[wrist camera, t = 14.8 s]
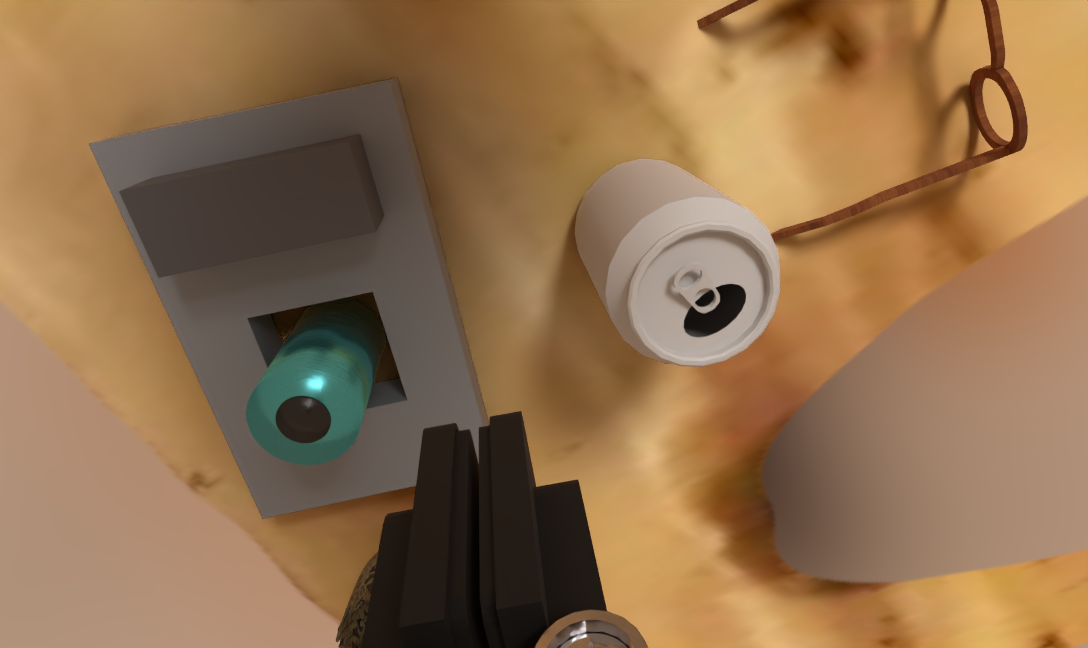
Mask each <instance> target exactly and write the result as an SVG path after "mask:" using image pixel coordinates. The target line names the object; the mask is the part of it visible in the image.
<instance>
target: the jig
mask: <svg viewBox="0 0 1088 648" xmlns="http://www.w3.org/2000/svg"><path fill="white" fill-rule="evenodd" d="M89 146H90V148H91V150H92V152H93V154H94V156H95V158H96V161H97V163H98V165H99V167H100V169H101V171H102V174H103V176H104V178H105V180H106V182H107V184H108V187H109V189H110V191H111V193H112V195H113V197H114V199H115V202H116V204H117V206H118V208H119V210H120V212H121V215H122V217H123V219H124V221H125V223H126V225H127V228H128V230H129V232H130V234H131V236H132V238H133V240H134V243H135V245H136V247H137V249H138V251H139V253H140V256H141V258H142V260H143V262H144V264H145V266H146V268H147V271H148V273H149V275H150V277H151V279H152V281H153V284H154V286H155V288H156V290H157V292H158V294H159V297H160V299H161V301H162V303H163V305H164V307H165V309H166V312H167V314H168V316H169V318H170V320H171V322H172V325H173V327H174V329H175V331H176V333H177V335H178V337H179V340H180V342H181V344H182V346H183V348H184V350H185V353H186V355H187V357H188V359H189V361H190V363H191V366H192V368H193V370H194V372H195V374H196V376H197V378H198V381H199V383H200V385H201V387H202V389H203V391H204V394H205V396H206V398H207V400H208V402H209V404H210V406H211V409H212V411H213V413H214V415H215V417H216V419H217V422H218V424H219V426H220V428H221V430H222V432H223V435H224V437H225V439H226V441H227V443H228V445H229V447H230V450H231V452H232V454H233V456H234V458H235V460H236V463H237V465H238V467H239V469H240V471H241V473H242V475H243V478H244V480H245V482H246V484H247V486H248V488H249V491H250V493H251V495H252V497H253V499H254V501H255V504H256V506H257V508H258V510H259V512H260V514H261V516H262V519H264V518H269V517H273V516H278V515H283V514H287V513H292V512H297V511H301V510H306V509H311V508H315V507H320V506H324V505H329V504H334V503H338V502H343V501H348V500H352V499H357V498H361V497H366V496H371V495H375V494H380V493H385V492H389V491H394V490H399V489H403V488H408V487H412V486H416V482H417V474H418V466H419V458H420V450H421V442H422V434H423V429H425V428H429V427H435V426H440V425H446V424H452V423H456V424H457V426H458V428H459V431H461V430H466V429H470V431H471V434H472V438H473V443H474V447H475V451H476V455H477V459H478V463H479V427H483V426H489V422H488V418H487V414H486V410H485V407H484V403H483V399H482V395H481V392H480V388H479V384H478V380H477V376H476V373H475V369H474V365H473V361H472V358H471V354H470V350H469V346H468V342H467V339H466V335H465V331H464V327H463V324H462V320H461V316H460V312H459V308H458V305H457V301H456V297H455V293H454V290H453V286H452V282H451V278H450V274H449V271H448V267H447V263H446V259H445V256H444V252H443V248H442V244H441V240H440V237H439V233H438V229H437V225H436V222H435V218H434V214H433V210H432V206H431V203H430V199H429V195H428V191H427V188H426V184H425V180H424V176H423V172H422V169H421V165H420V161H419V157H418V154H417V150H416V146H415V142H414V138H413V135H412V131H411V127H410V123H409V120H408V116H407V112H406V108H405V104H404V101H403V97H402V93H401V89H400V86H399V82H398V78H393V79H388V80H383V81H378V82H374V83H369V84H364V85H359V86H354V87H350V88H345V89H340V90H335V91H331V92H326V93H321V94H316V95H311V96H307V97H302V98H297V99H292V100H288V101H283V102H278V103H273V104H268V105H264V106H259V107H254V108H249V109H245V110H240V111H235V112H230V113H225V114H221V115H216V116H211V117H206V118H202V119H197V120H192V121H187V122H182V123H178V124H173V125H168V126H163V127H159V128H154V129H149V130H144V131H139V132H135V133H130V134H125V135H121V136H117V137H113V138H109V139H105V140H101V141H97V142H94V143H90V144H89ZM369 292H373V294H374V297H375V300H376V303H377V306H378V310H379V313H380V316H381V319H382V322H383V325H384V328H385V332H386V335H387V338H388V341H389V344H390V347H391V350H392V353H393V357H394V360H395V363H396V366H397V369H398V372H399V375H400V378H397V379H392V380H388V381H383V382H378V383H374V384H373V388H372V391H371V394H370V398H369V401H368V404H367V407H366V411H365V414H364V417H363V421H362V424H361V427H360V431H359V433H358V436H357V438H356V440H355V442H354V444H353V445H352V446H351V447H350V449H349V450H347V451H346V452H345V453H344V454H343V455H341V456H340V457H338V458H336V459H334V460H332V461H329V462H326V463H322V464H316V465H299V464H293V463H290V462H286V461H283V460H281V459H279V458H277V457H275V456H273V455H271V454H270V453H268V452H267V451H266V450H264V449H263V448H262V447H261V446H260V445H259V444H258V443H257V442H256V440H255V439H254V437H253V436H252V434H251V432H250V430H249V427H248V424H247V419H246V408H247V403H248V400H249V398H250V395H251V393H252V392H253V390H254V389H255V387H256V386H257V384H258V383H259V381H260V379H261V378H262V376H263V375H264V373H265V372H266V370H267V369H268V367H269V366H270V364H271V362H272V361H273V359H274V358H275V356H276V355H277V353H278V352H279V350H280V348H281V347H282V345H283V344H282V341H281V338H280V336H279V333H278V331H277V328H276V326H275V323H274V321H273V318H272V316H271V313H275V312H280V311H284V310H289V309H294V308H298V307H303V306H308V305H313V304H317V303H322V302H327V301H331V300H336V299H341V298H345V297H350V296H355V295H360V294H364V293H369Z"/></svg>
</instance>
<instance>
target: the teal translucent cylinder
mask: <svg viewBox="0 0 1088 648" xmlns="http://www.w3.org/2000/svg"><path fill="white" fill-rule="evenodd" d="M385 341H386V337H385V331H384V327H383V325H382V323H381V321H380V319H379V318H378V316H377V315H376V314H375V313H374V312H373V311H372V310H371V309H370V308H369V307H368V306H366V305H364V304H363V303H361V302H359V301H357V300H354V299H350V298H346V297H345V298H341V299H336V300H331V301H327V302H322V303H317V304H313V305H311V306H310V307H308V308H307V309H306V310H305V312H304V313H303V314H302V316H301V317H300V319H299V320H298V322H297V324H296V325H295V327H294V328H293V330H292V331H291V333H290V334H289V336H288V338H287V339H286V341H285V342H284V344H283V345H282V347H281V348H280V350H279V352H278V353H277V355H276V356H275V358H274V359H273V361H272V362H271V364H270V366H269V367H268V369H267V370H266V372H265V373H264V375H263V376H262V378H261V379H260V381H259V383H258V384H257V386H256V387H255V389H254V390H253V392H252V393H251V395H250V398H249V400H248V403H247V408H246V419H247V424H248V427H249V430H250V432H251V434H252V436H253V437H254V439H255V440H256V442H257V443H258V444H259V445H260V446H261V447H262V448H263V449H264V450H266V451H267V452H268V453H270V454H271V455H273V456H275V457H277V458H279V459H281V460H283V461H286V462H290V463H293V464H299V465H316V464H322V463H326V462H329V461H332V460H334V459H336V458H338V457H340V456H341V455H343V454H344V453H345V452H346V451H347V450H349V449H350V447H351V446H352V445H353V444H354V442H355V440H356V438H357V436H358V433H359V431H360V427H361V424H362V421H363V417H364V414H365V411H366V407H367V404H368V401H369V398H370V394H371V391H372V388H373V384H374V381H375V378H376V375H377V371H378V368H379V365H380V361H381V358H382V355H383V351H384V348H385Z"/></svg>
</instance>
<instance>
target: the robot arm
mask: <svg viewBox="0 0 1088 648" xmlns="http://www.w3.org/2000/svg"><path fill="white" fill-rule="evenodd" d="M361 648H648V646H647V644H646V642H645V640H644V639H643V637H642V636H641V634H640V633H639V631H638V630H637V628H636V627H635V626H634V625H632V624H631V623H630V622H628V621H627V620H626V619H625V618H623V617H621V616H619V615H616V614H613V613H611V612H608V611H607V609H606V604H605V600H604V595H603V591H602V586H601V581H600V577H599V572H598V568H597V563H596V559H595V554H594V549H593V545H592V540H591V536H590V531H589V526H588V522H587V517H586V513H585V508H584V503H583V499H582V494H581V490H580V485H579V481H578V480H573V481H567V482H562V483H556V484H551V485H545V486H540V487H536V483H535V478H534V473H533V468H532V463H531V458H530V453H529V447H528V442H527V437H526V432H525V427H524V422H523V417H522V413H521V411H519V412H514V413H508V414H502V415H497V416H491V417H490V425H489V426H483V427H479V463H478V459H477V455H476V451H475V447H474V443H473V438H472V434H471V431H470V429H466V430H461V431H459V428H458V426H457V424H456V423H452V424H446V425H440V426H435V427H429V428H425V429H423V434H422V442H421V450H420V458H419V466H418V474H417V482H416V490H415V498H414V506H413V509H412V510H406V511H401V512H395V513H390V514H387V516H386V517H385V520H384V524H383V529H382V534H381V540H380V545H379V551H378V557H377V562H376V568H375V573H374V579H373V585H372V590H371V596H370V601H369V607H368V613H367V618H366V624H365V629H364V635H363V640H362V646H361Z"/></svg>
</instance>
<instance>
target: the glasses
mask: <svg viewBox="0 0 1088 648" xmlns="http://www.w3.org/2000/svg"><path fill="white" fill-rule="evenodd" d="M756 1H758V0H738V1H736V2H734V3H732V4H730V5H728V6H726V7H724V8H722V9H720V10H718V11H716V12H714V13H712V14H710V15H708V16H706V17H704V18H702V19H700V20H698V21H697V22H698V25H699V28H701V27H703V26H705V25H708V24H710V23H712V22H715V21H717V20H719V19H721V18H723V17H725V16H727V15H729V14H731V13H733V12H735V11H737V10H739V9H741V8H743V7H745V6H747V5H749V4H751V3H754V2H756ZM981 2H982V5H983V9H984V14H985V20H986V27H987V33H988V39H989V45H990V51H991V65H989V66H985V67H983V68H980V69H978V70H976V71H974V73H973V74H972V77H971V81H970V95H971V100H972V106H973V112H974V117H975V120H976V123H977V125H978V128H979V130H980V132H981V134H982V136H983V137H984V138H985V140H986V141H987V143H988V144H989V145H990V146H991V147H992V148H993V150H990V151H987V152H985V153H982V154H980V155H977V156H974V157H972V158H969V159H966V160H964V161H961V162H959V163H956V164H953V165H951V166H948V167H945V168H943V169H940V170H938V171H935V172H932V173H930V174H927V175H924V176H922V177H919V178H917V179H914V180H911V181H909V182H906V183H903V184H901V185H898V186H896V187H893V188H890V189H888V190H885V191H882V192H880V193H878V194H876V195H873V196H871V197H869V198H867V199H865V200H863V201H861V202H859V203H856V204H854V205H852V206H849V207H847V208H844V209H842V210H839V211H837V212H834V213H832V214H830V215H827V216H824V217H821V218H817V219H814V220H811V221H807V222H804V223H800V224H797V225H793V226H790V227H786V228H783V229H780V230H778V231H776V232H774V233H772V234H771V237H772V239H773V241H774V240H778V239H781V238H785V237H788V236H792V235H795V234H799V233H802V232H806V231H809V230H813V229H817V228H820V227H824V226H827V225H829V224H832V223H835V222H837V221H840V220H843V219H845V218H848V217H851V216H854V215H856V214H859V213H861V212H863V211H865V210H868V209H870V208H872V207H874V206H876V205H879V204H881V203H883V202H885V201H888V200H891V199H893V198H896V197H899V196H901V195H904V194H907V193H909V192H912V191H915V190H917V189H920V188H923V187H925V186H928V185H930V184H933V183H936V182H938V181H941V180H944V179H946V178H949V177H952V176H954V175H957V174H960V173H962V172H965V171H968V170H970V169H973V168H976V167H978V166H981V165H984V164H986V163H989V162H992V161H994V160H997V159H1000V158H1002V157H1005V156H1008V155H1010V154H1013V153H1015V152H1018V151H1020V150H1022V149H1023V147H1024V146H1025V143H1026V140H1027V129H1028V126H1027V116H1026V111H1025V107H1024V103H1023V100H1022V97H1021V94H1020V92H1019V89H1018V87H1017V86H1016V84H1015V82H1014V80H1013V78H1012V76H1011V75H1010V73H1009V72H1008V71H1007V70H1006V69H1005V68H1003V67H1004V61H1005V47H1004V40H1003V34H1002V27H1001V21H1000V14H999V9H998V5H997V2H996V0H981ZM985 78H990V79H992V80H994V81H995V82H997V83H998V85H999V86H1000V87H1001V89H1002V90H1003V92H1004V94H1005V96H1006V98H1007V100H1008V103H1009V106H1010V109H1011V113H1012V118H1013V137H1012V140H1011V141H1010V142H1008V141H1005V140H1003V139H1002V138H1001V137H999V136H998V135H997V134H996V132H995V131H994V130H993V128H992V127H991V125H990V123H989V120H988V118H987V115H986V112H985V108H984V104H983V96H982V88H983V82H984V80H985Z"/></svg>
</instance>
